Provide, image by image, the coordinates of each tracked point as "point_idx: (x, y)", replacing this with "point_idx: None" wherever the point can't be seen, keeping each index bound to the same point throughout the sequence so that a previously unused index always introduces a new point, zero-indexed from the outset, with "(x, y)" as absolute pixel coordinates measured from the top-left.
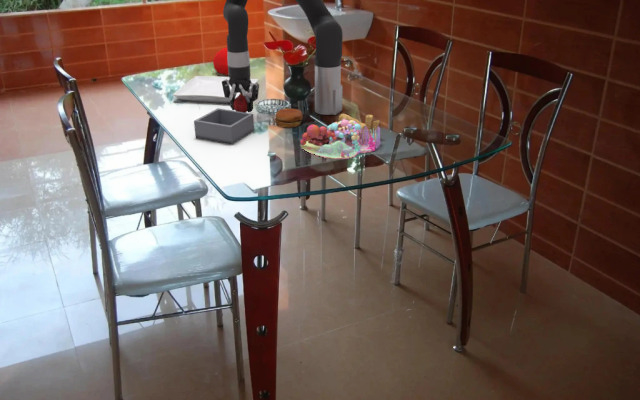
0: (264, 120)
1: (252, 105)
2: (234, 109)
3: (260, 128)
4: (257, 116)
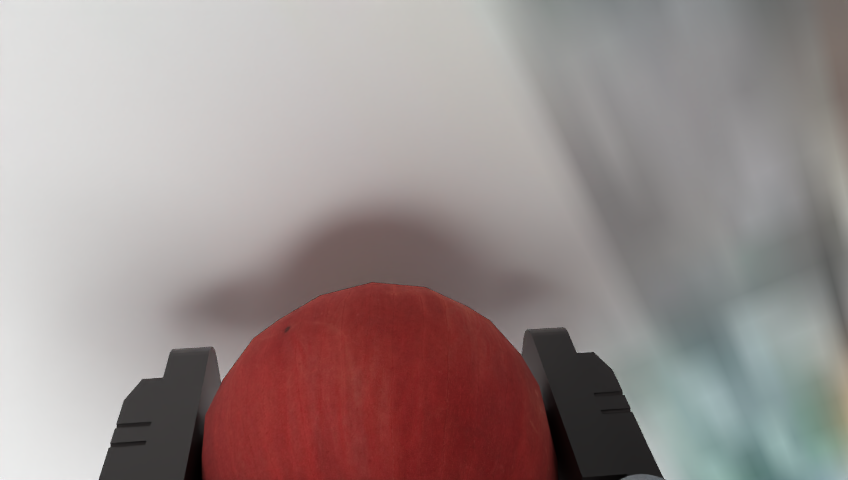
0: (741, 252)
1: (631, 439)
2: None
3: (765, 467)
4: (572, 154)
